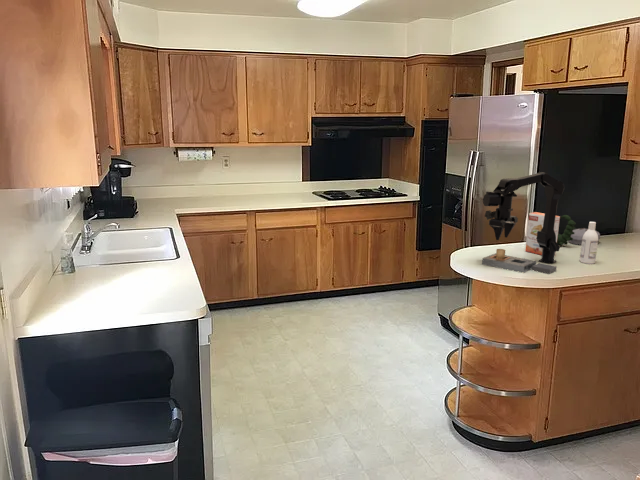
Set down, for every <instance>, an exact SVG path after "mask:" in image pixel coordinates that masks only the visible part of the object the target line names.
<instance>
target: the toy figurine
mask: <svg viewBox="0 0 640 480" xmlns="http://www.w3.org/2000/svg"><path fill="white" fill-rule="evenodd" d="M560 219H565V221H566V222H567V225H565V229H564V230H563V233H562V234H561V233H558V237H557V244H558V245H559V246H563V245H565V246H567V245H568V244H569V241H570V240H573V238H572V237H571V235H572V234H574V232H573V230H575V229H576V226H575V225H576V224H577V223H576V222H575V221H574V220H573V219H572V218H571V216H570V215H567V214H564V215H560Z"/></svg>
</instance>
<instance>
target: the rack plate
mask: <svg viewBox="0 0 640 480" xmlns="http://www.w3.org/2000/svg"><path fill="white" fill-rule="evenodd" d="M481 260H482V261H481V265H484V266H489V267H492V268H493V267H494V268H498V269H502V268H503V270H507V269H508V271H512V270H514V271H513V272H517V271H519V272H518V273H522V272H524V273H526V272H528V270H529V271H531V270H532V266H534V265H536V264H537V260H534V259H527V258H523V257H517V256H513V255H512V256H511V255H507V254H505V259H498V258H496V253H493V254H490V255H487V256H485V257H482V259H481ZM530 269H531V270H530Z"/></svg>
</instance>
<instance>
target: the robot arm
mask: <svg viewBox="0 0 640 480" xmlns="http://www.w3.org/2000/svg"><path fill="white" fill-rule="evenodd" d="M538 183H540V185H542V187H544V194H545V196H546V203H545V209H544V210H545V211H544V214H545V216H544V223H543V228H542V229H541V231H538V232H537V238H536V239H537V242H538V244H539V247H540V248H543V250H542V255H541V259H539V260H538V262H539V263H544V264H551V265H552V264H555V263H556V262H557V260H556V259H555V256H556V253H555V252H559V251H560V248H561V245H558V244H557V242H556V234H555V231H554V224H555V217H556V216H557V209H558V204H559V199H560V198H561V197H562V195H563V192H564V190H565V184H564V182H563V181H559V180H557V179H556V178H554V177H552V176H551V175H549V174H548V173H546V172H542V171H541V172H537V173H533V174H529V175H525V176H522V177H521V176H520V177H515V178H514V177H513V178H512V177H511V178H506V177H505V178H502V179H500V181H499V182H498V184H497V186H496V187H495V189H493V191H488V190H487V191H485V194H484V195H483V197H482V203H483V205H484V206H485V207H496V209H495V210H494V211H491V209H490V210H486V211H485V213H484V218H486V220H489V221H488V226H490V227H491V228H492V229H493V231H494V236H495V240H496V241H500V238H501V235H502V233H503V231H504V234H503V235H504V237H505V238H508V237H509V235H510V233H511V232H512V230H513V229H514V228H515V226H516V225H517V223H518V222H519V221H518V220H519V218H518V217H517V215H516V216H515V215H512V214H511V213H512V212H513V211H514V208H513V207H512V206H513V198H515V197H517V196H518V195H517V194H516V193H515V191H517V190H519V189H520V188H522V187H526V186H530V185H535V184H538Z"/></svg>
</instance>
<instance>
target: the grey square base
mask: <svg viewBox="0 0 640 480" xmlns="http://www.w3.org/2000/svg"><path fill="white" fill-rule="evenodd" d="M532 270H534V272H537V271H538V272H539V273H542V272H543V274H548V275H550V274H552V273H554V272H556V271H557V266H556V265H552V264H551V265H550V264H547V263H542V262H539V263H536V265H534V266H532V269H531V271H532ZM538 272H537V273H538Z"/></svg>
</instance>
